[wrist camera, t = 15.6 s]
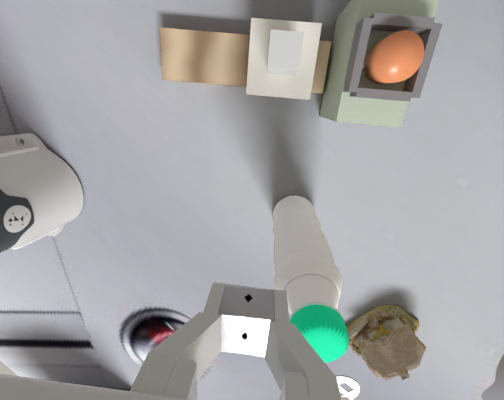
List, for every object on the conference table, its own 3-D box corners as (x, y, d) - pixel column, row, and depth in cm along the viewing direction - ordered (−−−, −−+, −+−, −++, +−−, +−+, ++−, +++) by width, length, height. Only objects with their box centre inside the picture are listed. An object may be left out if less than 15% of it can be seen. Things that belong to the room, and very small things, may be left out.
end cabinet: (319, 115, 37) (340, 123, 25) (337, 14, 32) (373, -32, 21) (367, 120, 36) (410, 129, 25) (392, 18, 32) (458, -26, 21)
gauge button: (359, 82, 25) (370, 80, 23) (370, 36, 24) (383, 28, 21) (399, 85, 25) (415, 84, 23) (412, 39, 24) (431, 32, 21)
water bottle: (264, 208, 43) (257, 336, 20) (300, 186, 41) (338, 299, 18) (287, 238, 45) (305, 387, 21) (322, 218, 43) (383, 358, 20)
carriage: (248, 94, 34) (239, 92, 25) (252, 25, 31) (245, -7, 22) (306, 99, 34) (320, 99, 24) (317, 30, 31) (337, 0, 21)
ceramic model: (399, 294, 48) (431, 341, 38) (425, 330, 51) (460, 382, 41) (335, 324, 52) (349, 374, 42) (362, 356, 54) (380, 409, 45)
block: (167, 80, 36) (162, 79, 34) (165, 31, 34) (159, 27, 32) (319, 93, 35) (322, 93, 34) (328, 44, 33) (331, 41, 31)
